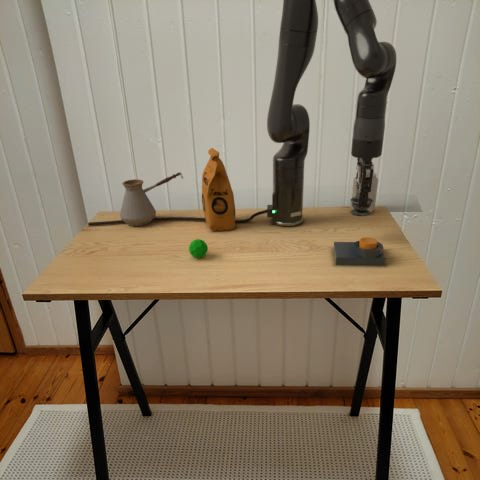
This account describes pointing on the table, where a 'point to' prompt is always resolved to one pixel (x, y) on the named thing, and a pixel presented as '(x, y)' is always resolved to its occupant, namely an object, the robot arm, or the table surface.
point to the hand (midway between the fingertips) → (361, 202)
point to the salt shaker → (358, 210)
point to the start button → (368, 243)
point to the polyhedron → (198, 248)
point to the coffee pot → (139, 202)
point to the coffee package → (217, 195)
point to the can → (370, 194)
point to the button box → (358, 254)
